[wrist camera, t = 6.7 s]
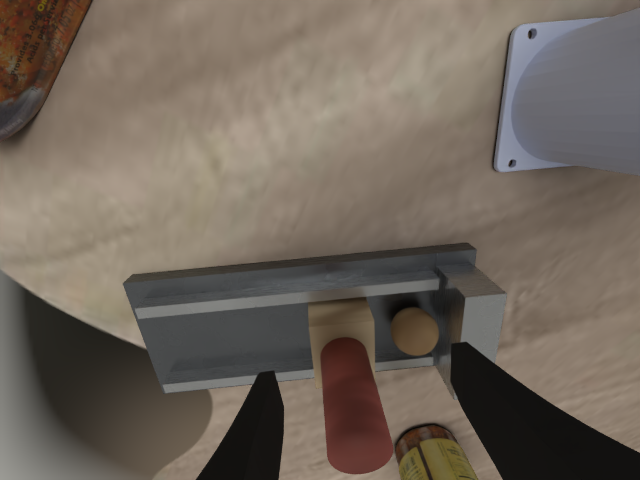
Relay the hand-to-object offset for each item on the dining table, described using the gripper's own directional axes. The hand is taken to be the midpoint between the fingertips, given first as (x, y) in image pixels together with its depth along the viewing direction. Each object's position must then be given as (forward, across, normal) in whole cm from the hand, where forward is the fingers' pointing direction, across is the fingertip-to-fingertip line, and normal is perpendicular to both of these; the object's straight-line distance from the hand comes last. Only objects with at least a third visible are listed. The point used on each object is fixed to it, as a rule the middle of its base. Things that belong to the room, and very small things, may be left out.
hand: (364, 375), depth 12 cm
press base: (+10, +3, +4) cm, 11 cm away
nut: (+8, -4, +5) cm, 10 cm away
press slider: (+9, +1, +4) cm, 10 cm away
